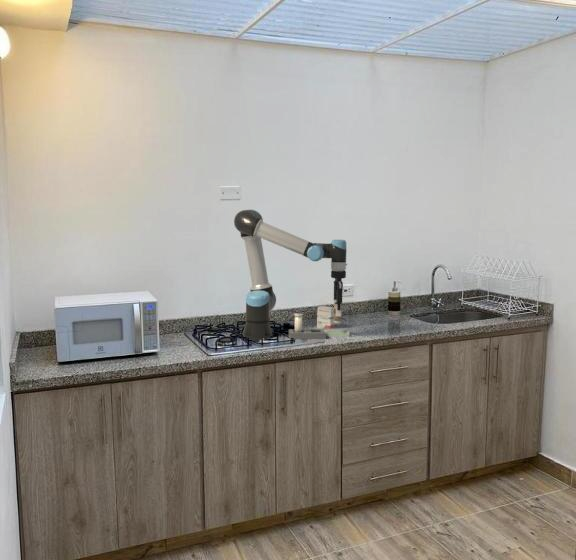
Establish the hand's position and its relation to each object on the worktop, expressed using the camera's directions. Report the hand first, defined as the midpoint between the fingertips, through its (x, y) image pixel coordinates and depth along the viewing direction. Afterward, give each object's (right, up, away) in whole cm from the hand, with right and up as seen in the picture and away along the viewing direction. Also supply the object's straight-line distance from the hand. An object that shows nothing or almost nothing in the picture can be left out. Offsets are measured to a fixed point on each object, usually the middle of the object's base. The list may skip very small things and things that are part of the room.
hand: (337, 315), depth 309 cm
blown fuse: (0, -4, +1) cm, 4 cm away
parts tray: (0, -11, +2) cm, 11 cm away
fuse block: (-16, -12, -5) cm, 20 cm away
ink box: (-5, -9, +20) cm, 22 cm away
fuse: (-20, -11, -5) cm, 24 cm away
